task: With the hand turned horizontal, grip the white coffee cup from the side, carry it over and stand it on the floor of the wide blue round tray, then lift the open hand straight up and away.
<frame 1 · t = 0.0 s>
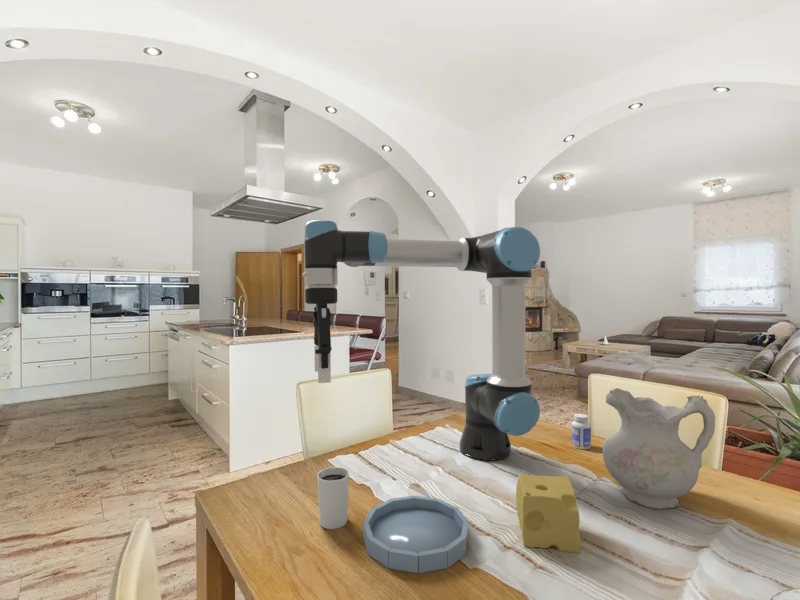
hand: (322, 376, 97), 28 cm above the table, fingers open, 13 cm apart
white coffee cup: (333, 522, 86), on the table
ceramic pitcher: (654, 498, 95), on the table
cheese: (546, 536, 81), on the table
pill bottle: (581, 447, 126), on the table
blue round tray: (415, 537, 80), on the table
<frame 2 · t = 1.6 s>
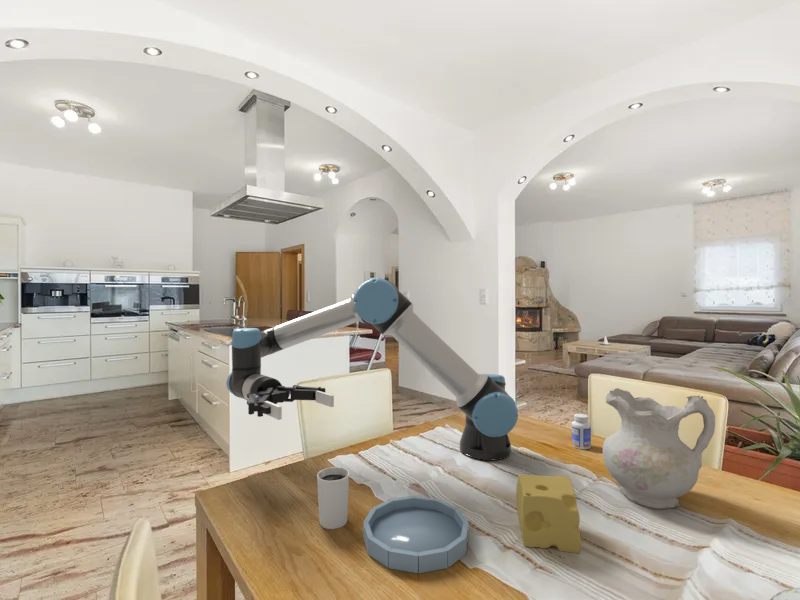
hand: (307, 406, 92), 22 cm above the table, fingers open, 13 cm apart
nothing on the table moved.
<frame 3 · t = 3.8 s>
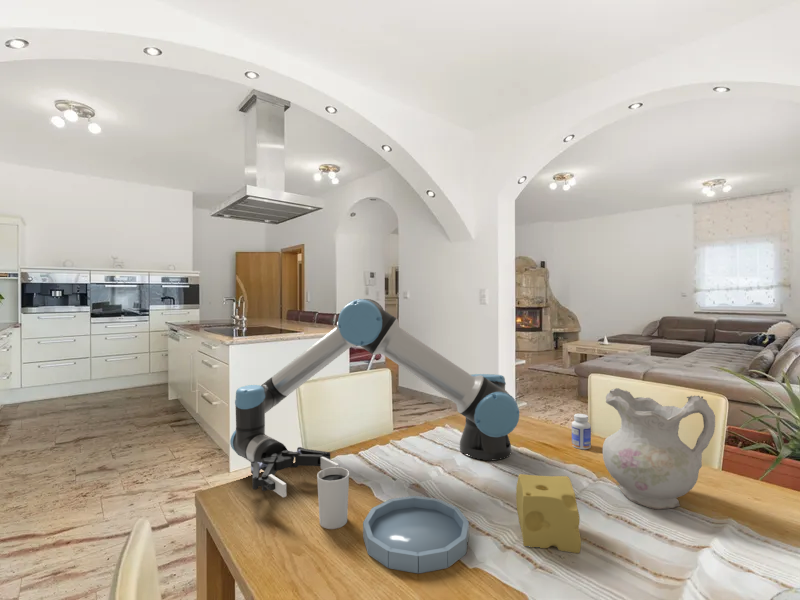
hand: (312, 480, 91), 6 cm above the table, fingers open, 13 cm apart
nothing on the table moved.
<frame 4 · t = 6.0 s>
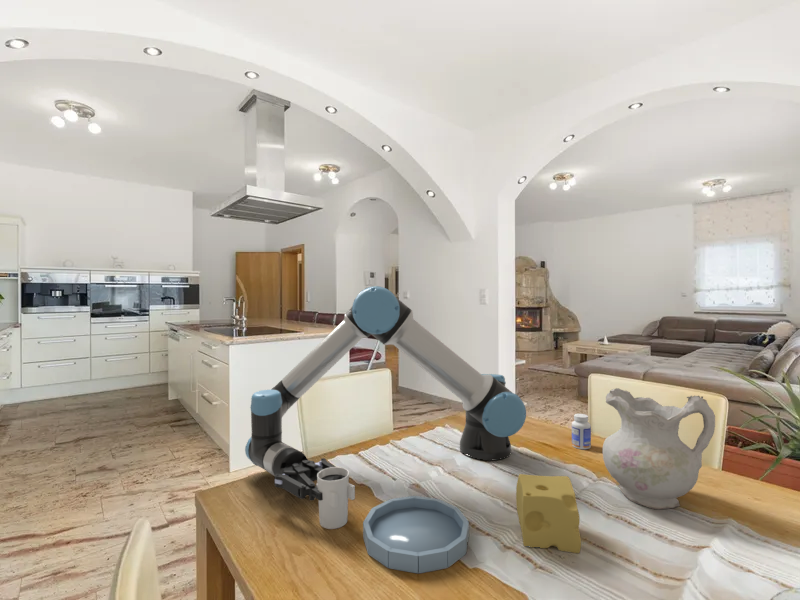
hand: (344, 496, 83), 7 cm above the table, fingers closed on white coffee cup, 4 cm apart
white coffee cup: (333, 521, 86), on the table, touching gripper
everything else where it was.
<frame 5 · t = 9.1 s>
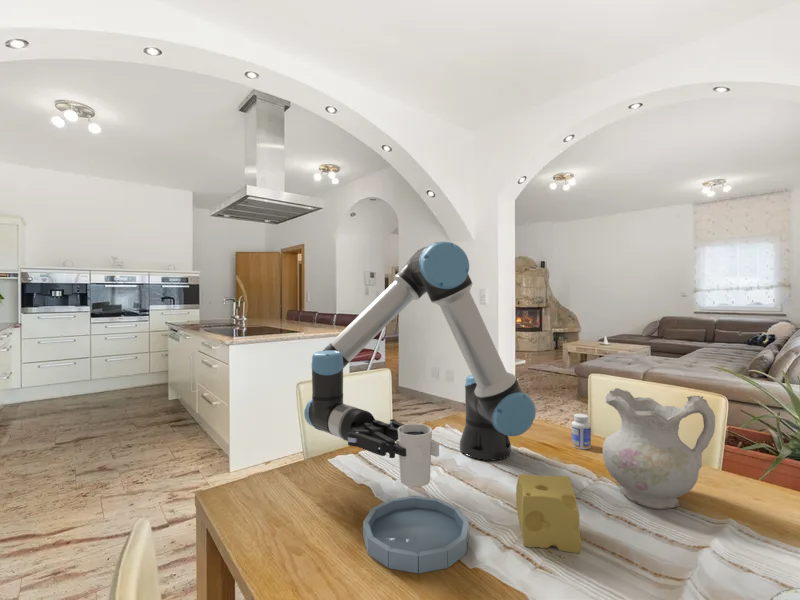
hand: (430, 452, 77), 18 cm above the table, fingers closed on white coffee cup, 4 cm apart
white coffee cup: (415, 481, 80), point 11 cm above the table, touching gripper
everything else where it was.
when the fingers open (8 cm above the table, at t = 11.8 s): white coffee cup stays where it is, resting on blue round tray.
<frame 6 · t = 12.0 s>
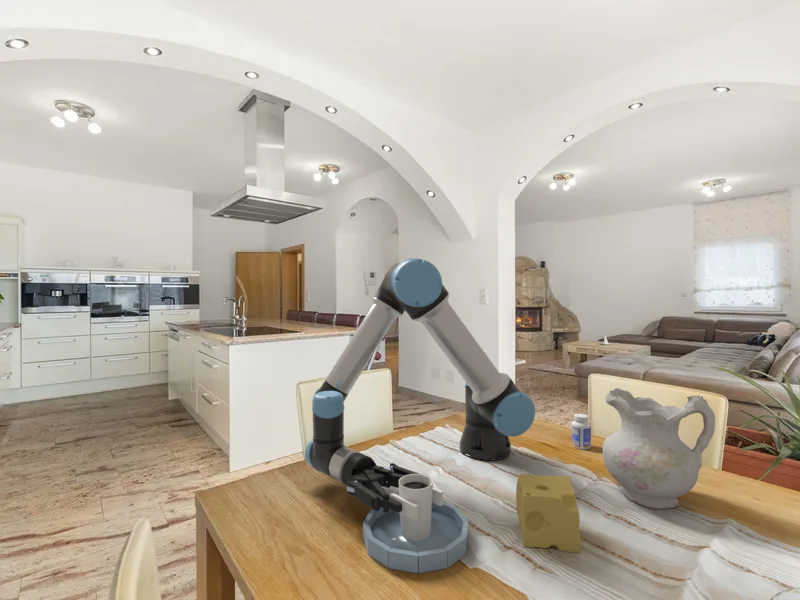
hand: (429, 505, 77), 8 cm above the table, fingers open, 7 cm apart
white coffee cup: (415, 533, 80), point 1 cm above the table, touching blue round tray
everything else where it was.
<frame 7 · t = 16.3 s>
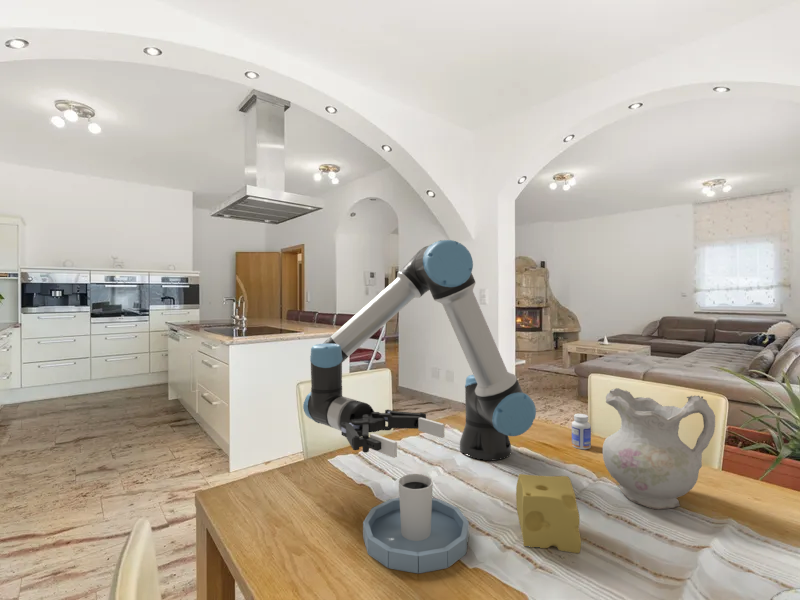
hand: (421, 439, 78), 20 cm above the table, fingers open, 13 cm apart
nothing on the table moved.
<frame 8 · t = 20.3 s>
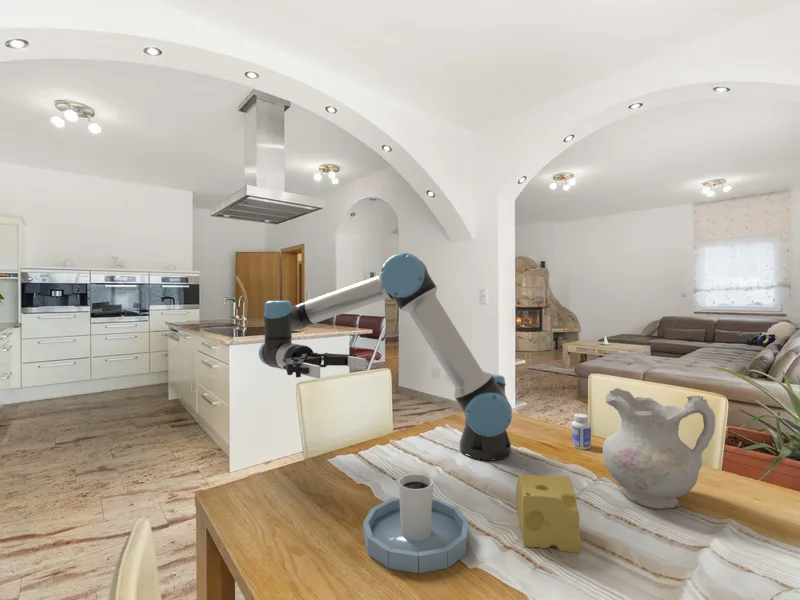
hand: (343, 368, 97), 30 cm above the table, fingers open, 13 cm apart
nothing on the table moved.
at the end: white coffee cup inside the target area on the blue round tray (0.0 cm from its centre), point 0.8 cm above the blue round tray's base; white coffee cup tilted 0°; the gripper is holding nothing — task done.
